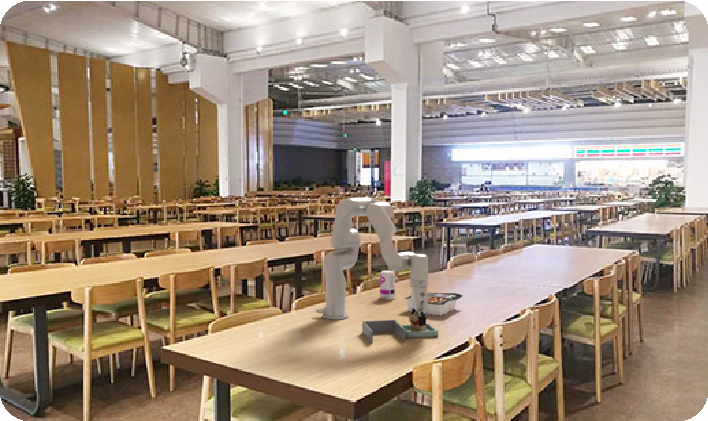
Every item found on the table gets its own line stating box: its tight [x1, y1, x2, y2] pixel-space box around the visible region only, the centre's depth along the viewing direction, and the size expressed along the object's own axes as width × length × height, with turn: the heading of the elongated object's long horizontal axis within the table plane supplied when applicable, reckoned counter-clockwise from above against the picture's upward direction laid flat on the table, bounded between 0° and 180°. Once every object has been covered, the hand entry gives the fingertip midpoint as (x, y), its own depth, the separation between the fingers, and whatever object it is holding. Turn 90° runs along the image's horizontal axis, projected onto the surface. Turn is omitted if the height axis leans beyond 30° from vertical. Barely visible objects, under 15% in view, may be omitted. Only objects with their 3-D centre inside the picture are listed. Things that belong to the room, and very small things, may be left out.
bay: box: [361, 319, 407, 345], centre depth 235 cm, size 15×16×5 cm
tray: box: [400, 323, 439, 339], centre depth 240 cm, size 14×12×2 cm
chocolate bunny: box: [408, 310, 427, 332], centre depth 240 cm, size 6×8×10 cm
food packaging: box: [404, 291, 464, 317], centre depth 283 cm, size 25×8×23 cm
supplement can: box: [379, 270, 396, 301], centre depth 310 cm, size 8×8×15 cm
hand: (418, 322), depth 240 cm, fingers open, 9 cm apart
